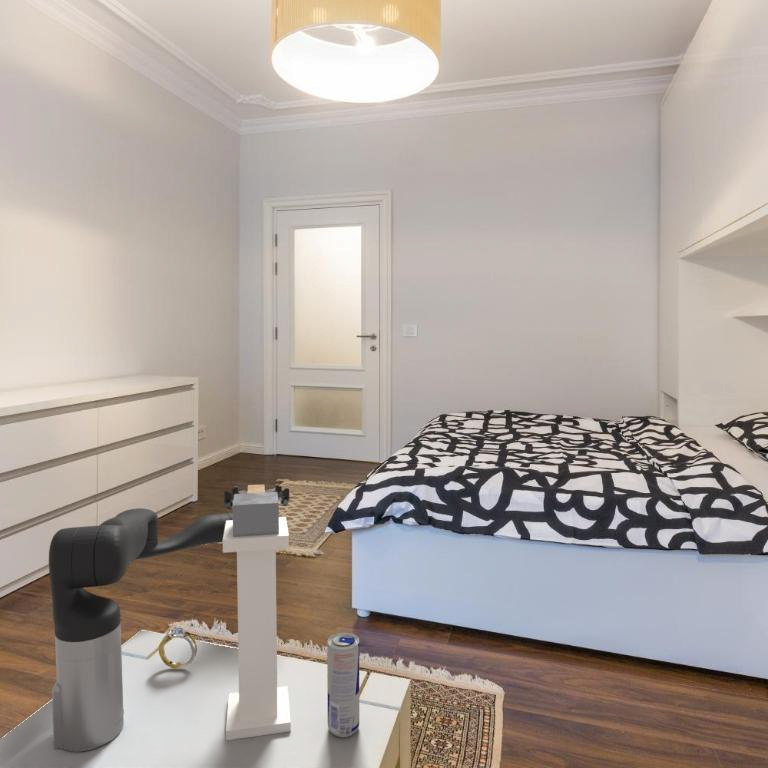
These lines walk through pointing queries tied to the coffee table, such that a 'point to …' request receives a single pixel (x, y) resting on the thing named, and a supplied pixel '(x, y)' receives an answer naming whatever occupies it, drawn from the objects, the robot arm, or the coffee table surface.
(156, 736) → the coffee table surface
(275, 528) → the hammer
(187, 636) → the ring
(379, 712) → the coffee table surface
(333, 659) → the beverage can
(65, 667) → the robot arm
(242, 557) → the stand
